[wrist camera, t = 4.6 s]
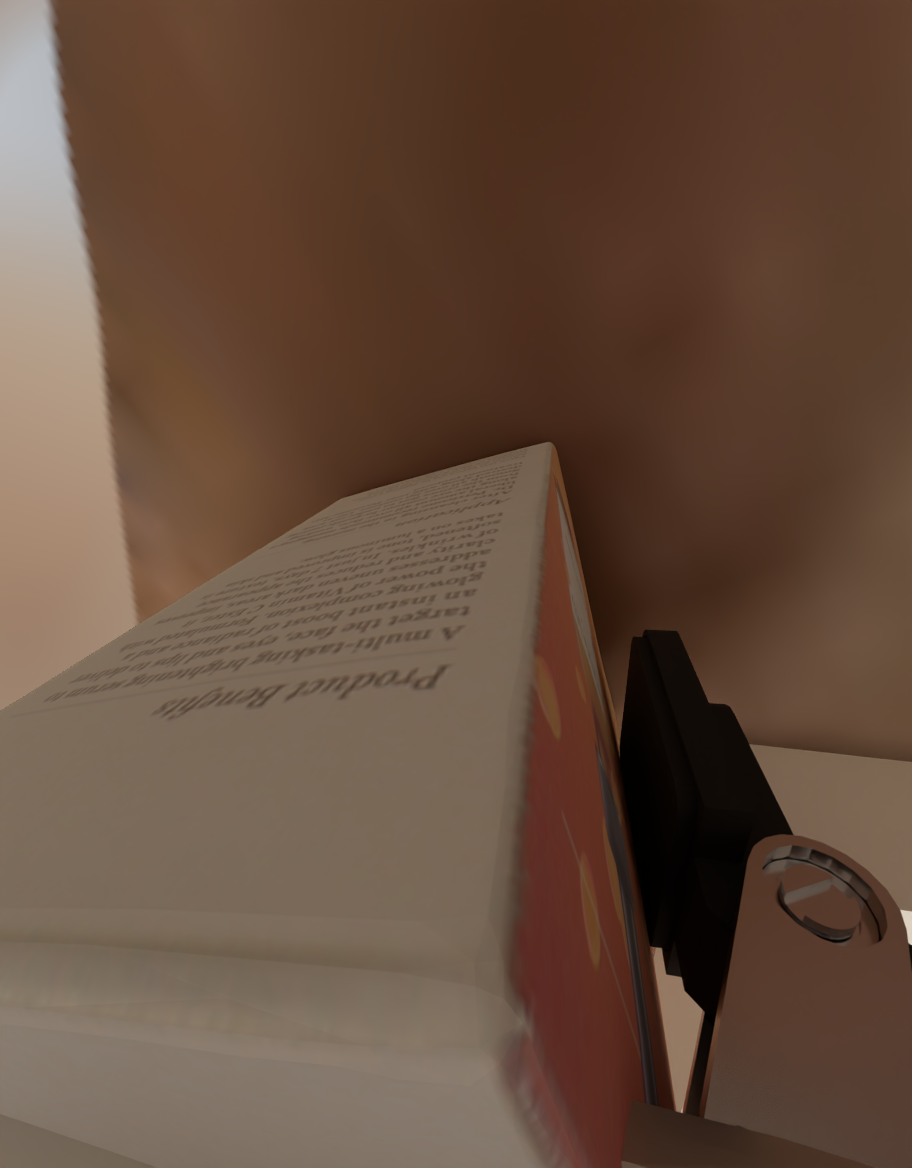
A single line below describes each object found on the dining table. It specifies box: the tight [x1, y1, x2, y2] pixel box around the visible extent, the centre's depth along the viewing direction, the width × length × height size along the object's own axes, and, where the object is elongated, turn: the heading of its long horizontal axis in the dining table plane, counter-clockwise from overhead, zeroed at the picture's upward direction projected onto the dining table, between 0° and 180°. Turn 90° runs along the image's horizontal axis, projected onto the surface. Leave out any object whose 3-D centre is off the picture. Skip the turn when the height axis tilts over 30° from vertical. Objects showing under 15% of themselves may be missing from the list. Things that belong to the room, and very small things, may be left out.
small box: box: [0, 442, 676, 1168], centre depth 8 cm, size 8×6×10 cm
